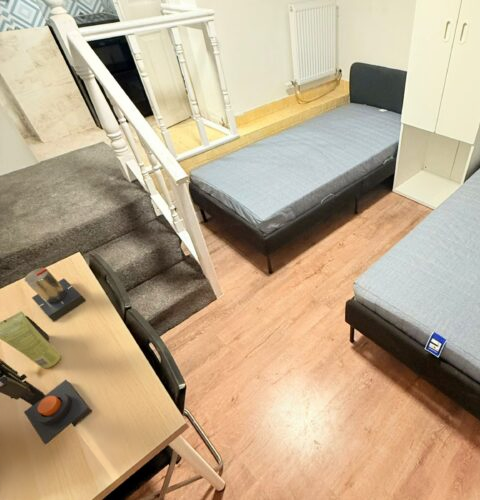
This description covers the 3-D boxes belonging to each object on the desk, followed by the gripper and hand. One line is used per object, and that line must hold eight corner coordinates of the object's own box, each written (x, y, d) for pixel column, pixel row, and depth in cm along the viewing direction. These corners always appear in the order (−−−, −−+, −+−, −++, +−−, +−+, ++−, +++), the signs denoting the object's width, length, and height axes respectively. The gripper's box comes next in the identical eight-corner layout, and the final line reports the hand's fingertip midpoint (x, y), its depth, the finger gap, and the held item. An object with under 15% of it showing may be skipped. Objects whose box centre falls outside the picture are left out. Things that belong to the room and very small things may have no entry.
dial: (50, 306, 103) (29, 285, 96) (42, 298, 105) (20, 276, 98) (70, 294, 106) (50, 272, 99) (61, 285, 109) (41, 264, 102)
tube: (49, 349, 96) (2, 309, 82) (66, 350, 95) (21, 310, 82) (36, 368, 92) (-16, 329, 78) (53, 369, 91) (3, 331, 78)
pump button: (39, 409, 80) (34, 405, 79) (57, 395, 83) (52, 392, 81) (47, 419, 79) (41, 416, 77) (64, 405, 81) (59, 402, 79)
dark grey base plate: (29, 414, 83) (18, 408, 80) (70, 382, 88) (61, 376, 86) (50, 447, 78) (39, 441, 75) (92, 410, 83) (83, 404, 80)
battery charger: (34, 339, 98) (8, 317, 90) (49, 334, 99) (24, 312, 91) (32, 359, 94) (4, 338, 86) (47, 353, 95) (21, 331, 87)
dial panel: (37, 303, 108) (30, 297, 106) (69, 283, 114) (63, 277, 111) (53, 322, 102) (47, 316, 100) (86, 300, 108) (81, 294, 106)
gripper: (-5, 351, 60) (67, 402, 76) (-30, 315, 65) (43, 370, 82) (-57, 384, 55) (32, 431, 72) (-78, 343, 61) (8, 395, 78)
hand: (37, 399), depth 77 cm, fingers closed
